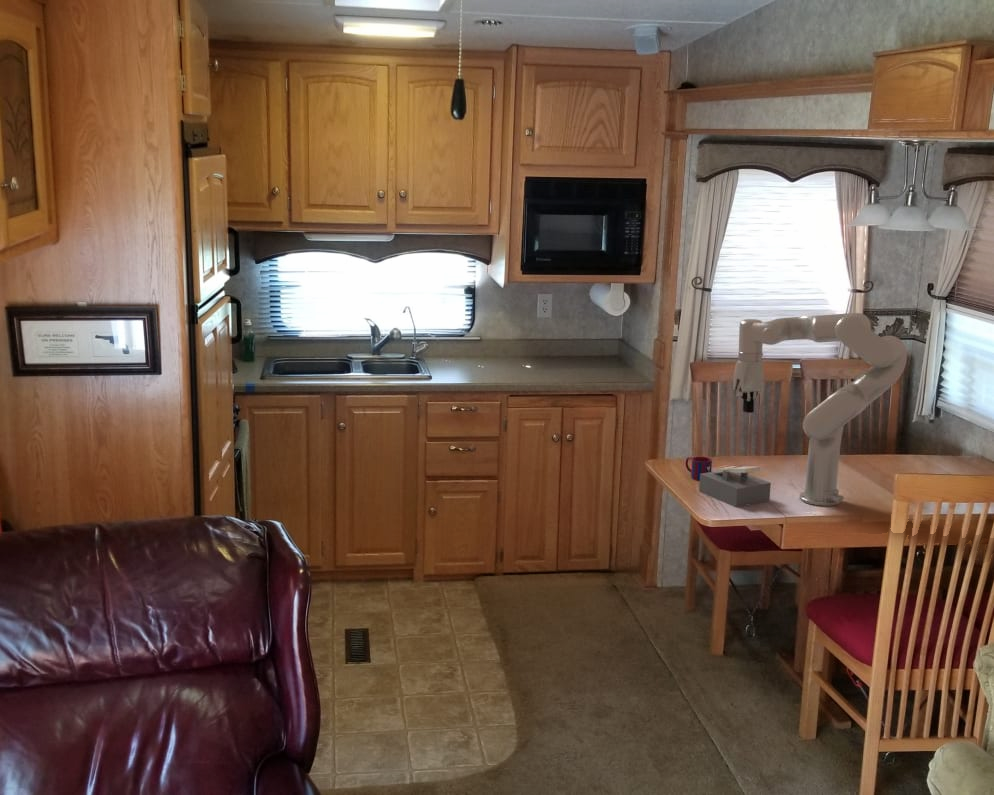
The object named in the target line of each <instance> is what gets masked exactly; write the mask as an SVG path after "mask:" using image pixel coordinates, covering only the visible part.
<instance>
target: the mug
mask: <svg viewBox="0 0 994 795" xmlns="http://www.w3.org/2000/svg"><path fill="white" fill-rule="evenodd" d="M689 460H691V468H690V467H689ZM712 464H713V459H712V458H710V457H707V456H694V457H692V456H691V457H687V458H686V459H685V468H686V470H687V471H688V472H689V473H691V474H690V477H691V479H692V480H694V481H699V482H700V474H702V473H708V472H712V468H713V466H712Z"/></svg>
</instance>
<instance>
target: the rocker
mask: <svg viewBox="0 0 994 795" xmlns="http://www.w3.org/2000/svg"><path fill="white" fill-rule="evenodd" d="M723 470H727V471H729V473H747V472H748V473H750V472H751V473H754V472H758V471H759V472H760V471H761V469H760V466H744V465H740V466H738V465H736V466H735V465H733V466H732V465H726V464H725V465H720V466H715V467H713V466H712V468H711V472H723Z"/></svg>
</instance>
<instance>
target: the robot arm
mask: <svg viewBox="0 0 994 795" xmlns="http://www.w3.org/2000/svg"><path fill="white" fill-rule="evenodd" d="M871 323H872V322H871V320H870V319H869V317H868V316H867V315H865V313H860V312H850V313H849V312H848V313H833V314H821V315H819V314H818V315H809V316H792V317H791V316H790V317H782V318H775V319H772V320H769V321H762V320H761V319H756V318H746V319H742V320H741V321H740V322H739V332H738V333H739V334H738V360H737V361H736V363H735V367H734V371H733V372H734V374H733V380H732V381H733V382H732V389H733V391H735V396H736V397H740V398H741V400H742V401H743V402H742V403H743V405H742V411H743V413H748V414H751V413H754V411H755V410H754V409H755V408H754V407H755V404H754V402H755V401H756V399H757V398H756V397H757V396H758V395H759V394H762V393H763V389H764V385H765V370H764V361H763V356H764V352H763V344H765V345H768V346H773V345H774V346H775V345H776V344H779V343H781V342H786V341H798V340H799V341H800V340H809V341H813V342H814V343H818V344H819V343H833V342H841V344H843V345H844V346H845V347H846V348H848V349H849V350H851V351H852V352H853V353H854V354H855V355H856V356H858V357H859V358H860V359H861V360H863V361H864V362H866V363H867V364H869V365H870V367H869V368H868V369H867V370H865V371H864V372H863V373H861V374H860V375H859V376H858V377H857V378H855V379H854V380H853V381H851V382H849V383H848V384H846V385H844V386H842V387H840V388H839V389H837V390H836V391H834V392H833V393H832V394H831V395H829V396H828V397H827V398H826V399H824V400H823V401H822V402H820V403H819V404H818V405H817V406H815V407H814V408H813V409H811V410H809V412H807V414H805V416H804V418H803V420H802V421H803V422H802V430H803V432H804V433H805V435H806V436H807V437H808V438H809V441H808V449H807V450H808V451H807V452H808V453H807V464H806V465H807V466H806V475H805V486H804V487H805V488H804V491H802V492H800V494H799V499H800V500H801V501H802V502H803V501H804V503H806V504H809V503H810V504H809V505H813V504H815V505H814V506H819V505H822V506H821V507H830V506H838V505H839V504H840V503H842V501H843V500H844V499H845V496H843V495H840V494H839V491H840V489H838V488H837V486H838V485H837V484H838V474H839V463H840V462H839V461H840V454H841V453H840V452H841V444H842V436H843V431H844V426H845V425H846V424H848V423H849V422H850V421H851V420H852V419H854V418H856V417H857V416H858V415H859V414H860V413H863V411H864V410H865V409H866V408H867V407H868V406H869V405H870V404H872V403H873V402H874V401H875V400H876V399H878V398H879V397H881V396H882V394H884V393H886V391H887V390H889V389H890V388H891V387H892V386H894V385H895V383H896V382H897V381H898V380H899V379H900V378H901V376H902V374H903V373H904V371H905V369H906V365H907V349H906V347H905V344H904V342H903V341H902V340H901V339H900V338H899V337H898V336H894V335H884V336H879V335H878V334H877V333H876V332H875V331H873V330H872V328H871V327H872V326H871V325H872V324H871Z"/></svg>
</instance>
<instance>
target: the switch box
mask: <svg viewBox="0 0 994 795" xmlns="http://www.w3.org/2000/svg"><path fill="white" fill-rule="evenodd" d="M748 473H749V472H747V473H729V471H727V470H723V472H712V471H711V472H708V473H702V474H700V481H699V488H698V491H699V492H700V493H701V494H702V493H703V494H704V495H706V496H709V497H712V498H714V499H716V500H719V501H721V502H724V503H726V504H728V505H730V506H733V507H734V508H738V507H743V506H744V507H745V506H748V504H749V505H753V504H752V503H755V504H759V503H758V502H760V503H765V502H769V501H770V498H771V486H772V484H771V482H769V481H767V480H764V479H761V478H759V477H756V476H754V475H752V474H751V475H750V474H748ZM764 501H765V502H764Z"/></svg>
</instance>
